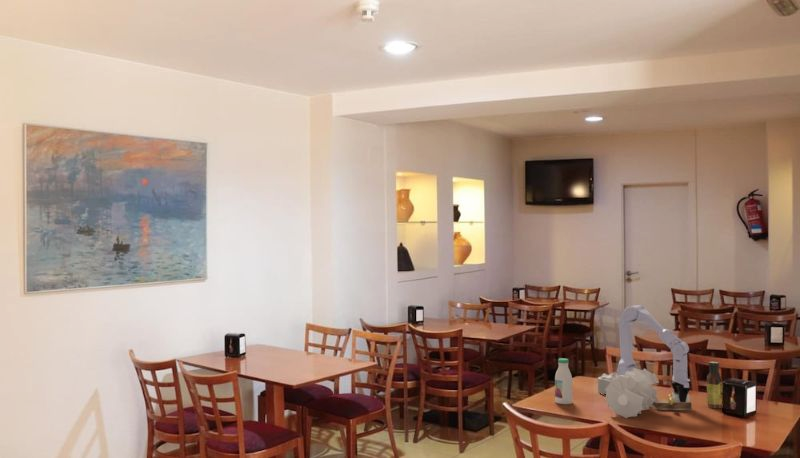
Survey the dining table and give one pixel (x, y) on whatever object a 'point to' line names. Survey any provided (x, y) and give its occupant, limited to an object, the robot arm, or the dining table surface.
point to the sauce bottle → (714, 386)
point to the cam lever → (670, 400)
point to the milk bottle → (563, 383)
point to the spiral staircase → (631, 392)
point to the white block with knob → (676, 398)
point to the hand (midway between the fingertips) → (680, 400)
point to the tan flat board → (666, 406)
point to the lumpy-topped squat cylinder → (604, 382)
